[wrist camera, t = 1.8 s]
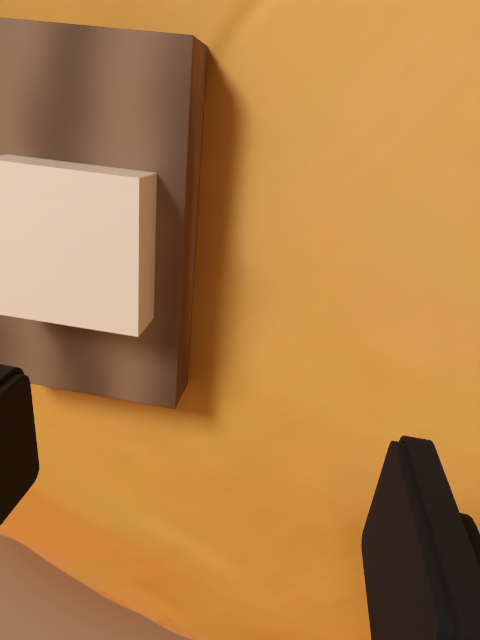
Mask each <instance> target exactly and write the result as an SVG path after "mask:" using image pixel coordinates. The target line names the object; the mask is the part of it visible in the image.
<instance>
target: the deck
mask: <svg viewBox="0 0 480 640" xmlns="http://www.w3.org/2000/svg"><path fill="white" fill-rule="evenodd" d="M206 63H207V46H206V45H205V44H204V43H202V42H201V41H200V40H198V39H197V38H196V37H194V36H193V35H185V34H174V33H163V32H152V31H141V30H130V29H119V28H109V27H98V26H87V25H76V24H65V23H54V22H43V21H32V20H22V19H11V18H0V155H7V154H8V155H16V156H24V157H32V158H41V159H49V160H57V161H65V162H73V163H81V164H89V165H97V166H105V167H113V168H121V169H129V170H137V171H146V172H154V173H157V191H156V237H155V283H154V319H153V320H152V321H151V322H150V323H149V325H148V326H147V327H146V328H145V329H144V331H143V332H142V333H141V334H140V335H139V337H135V336H129V335H123V334H117V333H111V332H104V331H98V330H92V329H86V328H80V327H73V326H67V325H61V324H55V323H49V322H42V321H36V320H30V319H24V318H18V317H11V316H5V315H0V364H3V365H9V366H14V367H19V368H21V369H22V370H23V372H24V375H26V376H28V377H29V379H30V384H36V385H42V386H47V387H53V388H59V389H64V390H70V391H76V392H81V393H87V394H93V395H98V396H104V397H110V398H115V399H121V400H127V401H132V402H138V403H144V404H149V405H155V406H161V407H166V408H172V409H175V408H176V406H177V404H178V402H179V400H180V398H181V396H182V394H183V392H184V390H185V388H186V386H187V381H188V364H189V347H190V331H191V314H192V297H193V280H194V264H195V247H196V230H197V214H198V197H199V180H200V163H201V147H202V130H203V113H204V97H205V80H206Z"/></svg>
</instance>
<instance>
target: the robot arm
mask: <svg viewBox="0 0 480 640" xmlns="http://www.w3.org/2000/svg"><path fill="white" fill-rule="evenodd" d="M38 472H39V460H38V450H37V441H36V432H35V423H34V414H33V404H32V395H31V386H30V379H29V377H28V376H26V375H24V372H23V370H22V369H21V368H19V367H14V366H9V365H3V364H0V525H1V524H2V523H3V521H4V520H5V519H6V518H7V516H8V515H9V514H10V513H11V511H12V510H13V509H14V507H15V506H16V505H17V504H18V502H19V501H20V500H21V499H22V497H23V496H24V495H25V493H26V492H27V491H28V490H29V488H30V487H31V486H32V485H33V483H34V482H35V480H36V478H37V475H38ZM362 557H363V566H364V575H365V584H366V593H367V602H368V611H369V620H370V630H371V639H372V640H480V534H479V531H478V529H477V526H476V524H475V523H474V521H473V519H472V518H471V517H470V516H469V515H467V514H462V513H459V510H458V508H457V505H456V502H455V500H454V497H453V494H452V492H451V489H450V486H449V483H448V481H447V478H446V475H445V473H444V470H443V467H442V465H441V462H440V459H439V457H438V454H437V451H436V449H435V446H434V444H433V442H432V441H430V440H426V439H420V438H414V437H409V436H402V437H401V438H400V440H399V442H397V441H391V443H390V445H389V448H388V451H387V454H386V458H385V461H384V464H383V468H382V471H381V474H380V477H379V481H378V484H377V487H376V491H375V494H374V497H373V500H372V504H371V507H370V510H369V514H368V517H367V520H366V523H365V527H364V530H363V534H362Z"/></svg>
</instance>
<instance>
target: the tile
mask: <svg viewBox="0 0 480 640" xmlns="http://www.w3.org/2000/svg"><path fill="white" fill-rule="evenodd" d="M156 191H157V173H154V172H146V171H137V170H129V169H121V168H113V167H105V166H97V165H89V164H81V163H73V162H65V161H57V160H49V159H41V158H32V157H24V156H16V155H8V154H7V155H0V315H5V316H11V317H18V318H24V319H30V320H36V321H42V322H49V323H55V324H61V325H67V326H73V327H80V328H86V329H92V330H98V331H104V332H111V333H117V334H123V335H129V336H135V337H139V335H140V334H141V333H142V332H143V331H144V329H145V328H146V327H147V326H148V325H149V323H150V322H151V321H152V320H153V319H154V283H155V237H156Z"/></svg>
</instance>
